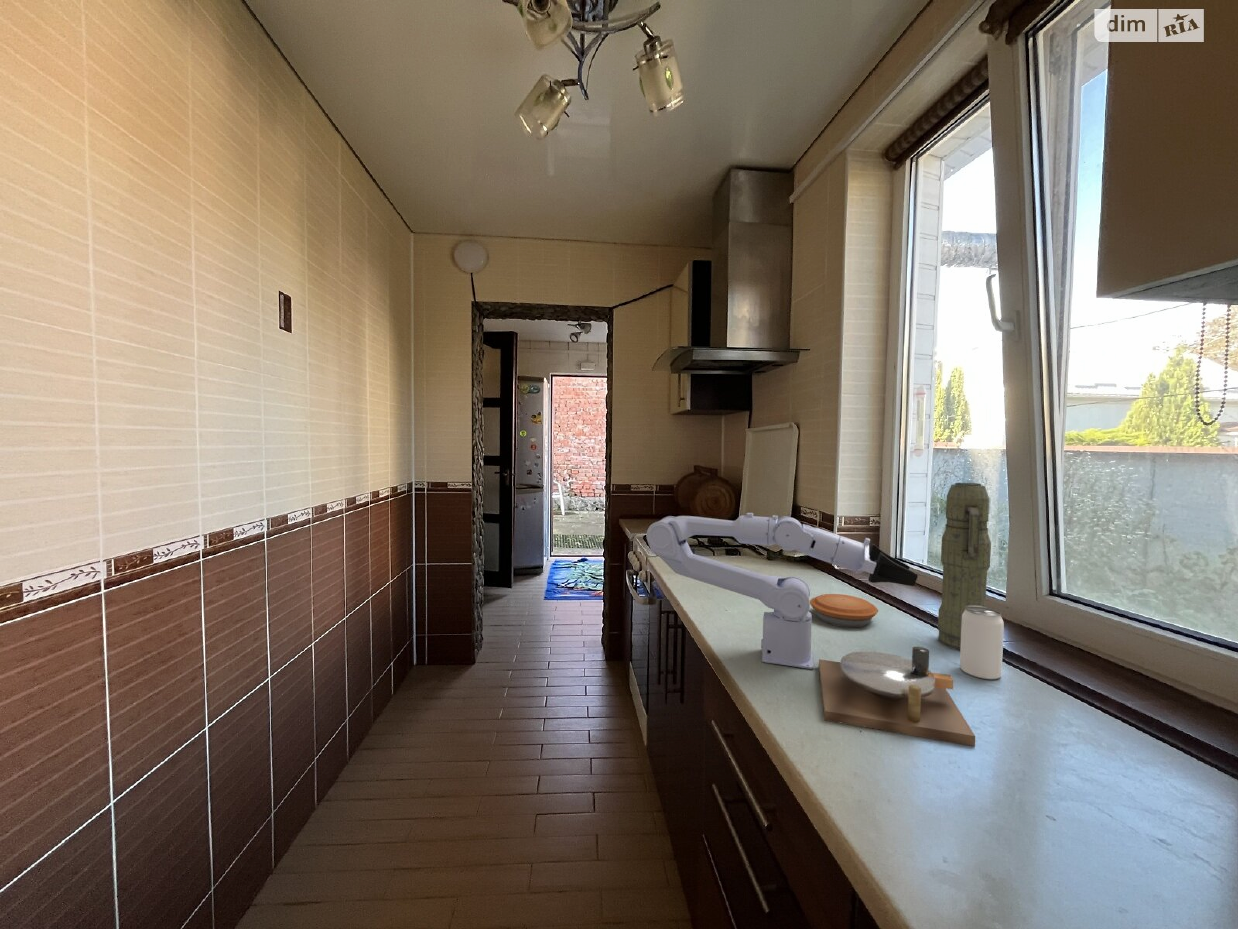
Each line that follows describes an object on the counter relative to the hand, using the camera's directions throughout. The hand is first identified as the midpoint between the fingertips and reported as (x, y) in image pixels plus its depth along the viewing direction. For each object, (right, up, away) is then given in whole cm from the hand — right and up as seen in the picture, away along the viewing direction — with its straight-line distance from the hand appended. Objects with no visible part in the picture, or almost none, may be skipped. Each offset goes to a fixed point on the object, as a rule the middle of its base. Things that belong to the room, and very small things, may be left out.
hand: (911, 575), depth 93 cm
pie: (+1, -18, +32) cm, 36 cm away
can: (+15, -19, +3) cm, 24 cm away
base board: (-9, -19, -8) cm, 23 cm away
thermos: (+20, -19, +17) cm, 32 cm away
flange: (-8, -15, -9) cm, 19 cm away
